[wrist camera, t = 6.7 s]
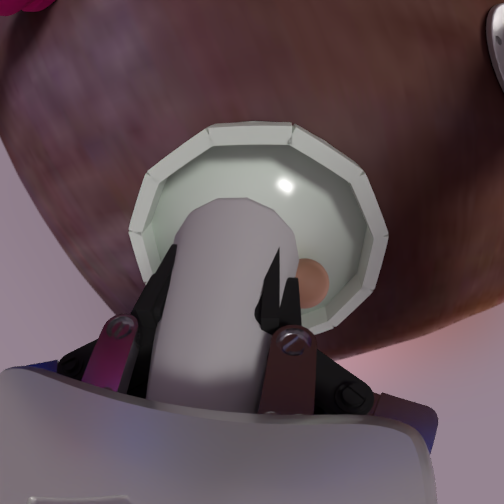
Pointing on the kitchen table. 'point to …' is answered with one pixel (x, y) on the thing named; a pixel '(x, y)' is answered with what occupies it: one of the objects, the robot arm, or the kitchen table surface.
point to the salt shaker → (219, 307)
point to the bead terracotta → (311, 282)
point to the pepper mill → (22, 6)
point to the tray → (272, 204)
